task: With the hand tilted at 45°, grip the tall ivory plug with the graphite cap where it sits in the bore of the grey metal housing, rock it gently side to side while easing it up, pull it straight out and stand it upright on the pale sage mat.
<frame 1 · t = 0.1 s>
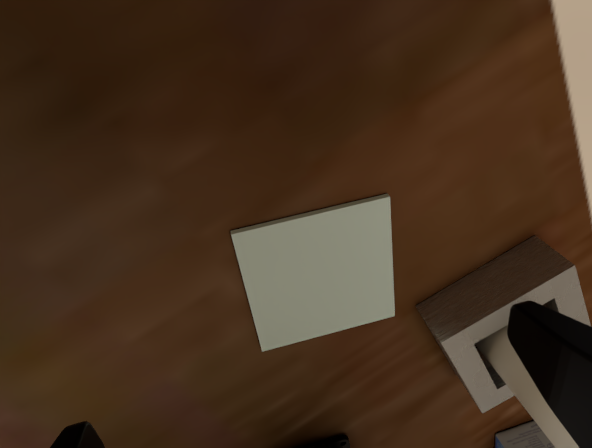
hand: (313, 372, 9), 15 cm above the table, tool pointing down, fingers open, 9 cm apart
mat: (319, 275, 27), on the table
medicine box: (512, 447, 42), on the table
plug: (556, 382, 26), in the housing
housing: (492, 311, 32), on the table
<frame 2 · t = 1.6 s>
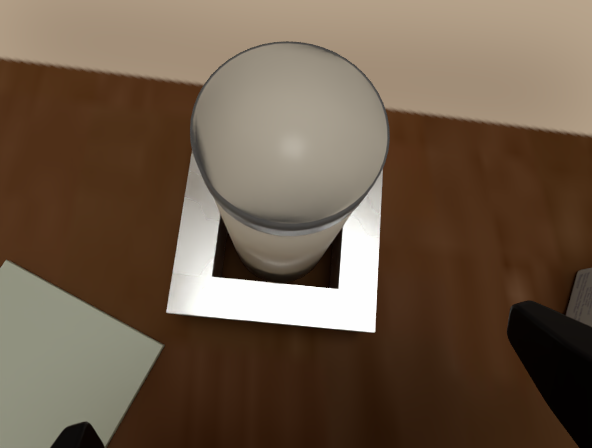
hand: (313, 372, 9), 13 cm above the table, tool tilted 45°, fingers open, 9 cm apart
mat: (33, 387, 21), on the table
plug: (283, 203, 17), in the housing
housing: (280, 237, 23), on the table
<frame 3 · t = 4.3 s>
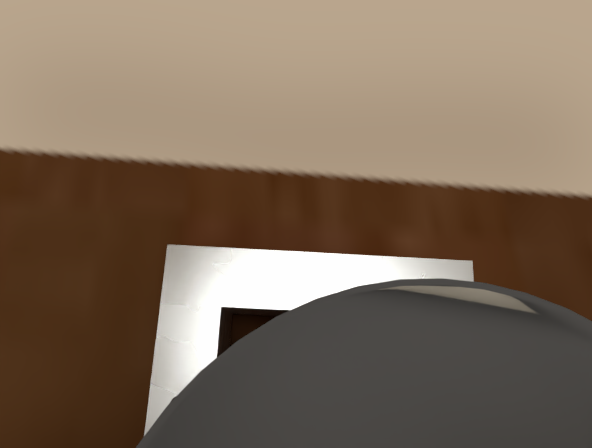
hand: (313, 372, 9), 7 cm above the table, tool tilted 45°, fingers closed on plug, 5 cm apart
plug: (330, 442, 9), in the housing, touching gripper
housing: (307, 400, 15), on the table
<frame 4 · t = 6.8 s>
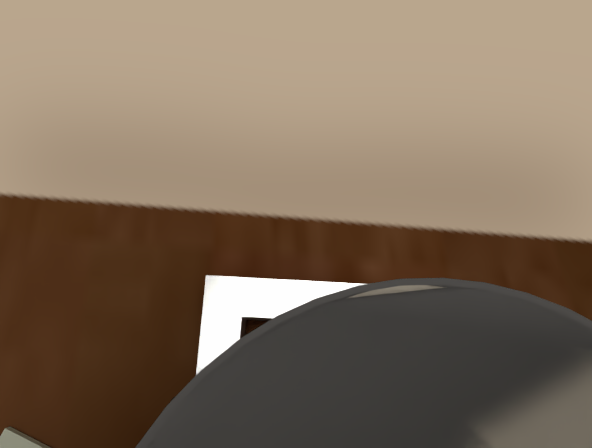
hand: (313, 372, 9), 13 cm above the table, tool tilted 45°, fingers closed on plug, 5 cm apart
plug: (330, 442, 9), point 13 cm above the table, touching gripper
housing: (298, 380, 22), on the table
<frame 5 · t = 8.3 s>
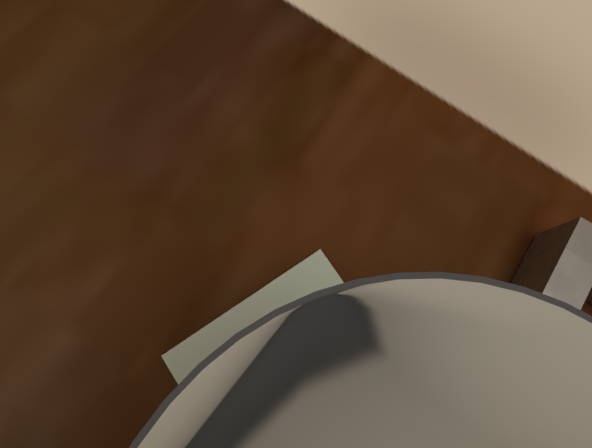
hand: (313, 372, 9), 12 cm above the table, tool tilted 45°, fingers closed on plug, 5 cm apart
mat: (296, 381, 21), on the table
plug: (329, 440, 9), point 12 cm above the table, touching gripper
housing: (577, 358, 22), on the table
when the fingers open (8 cm above the table, at t = 9.5 s): plug drops 1 cm, resting on mat.
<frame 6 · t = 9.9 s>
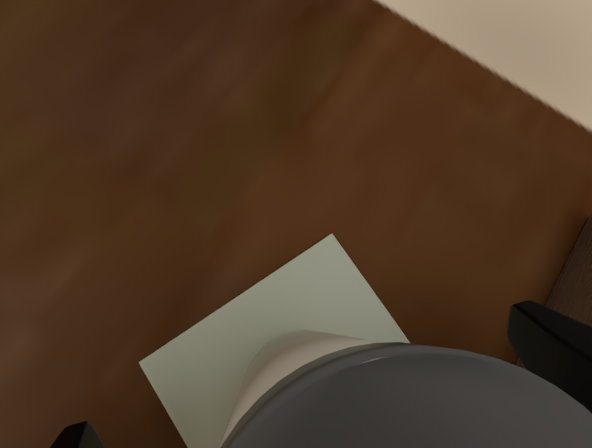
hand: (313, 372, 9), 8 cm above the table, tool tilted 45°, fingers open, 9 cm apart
mat: (303, 393, 17), on the table
plug: (331, 441, 10), on the mat
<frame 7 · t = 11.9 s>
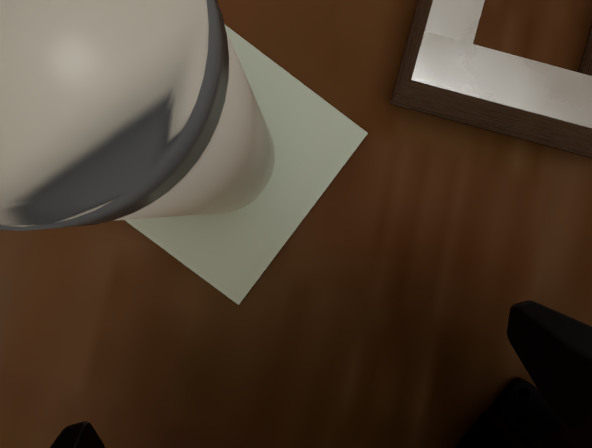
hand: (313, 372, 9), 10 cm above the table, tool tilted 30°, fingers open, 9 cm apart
mat: (218, 156, 19), on the table
plug: (170, 127, 12), on the mat
housing: (522, 26, 19), on the table
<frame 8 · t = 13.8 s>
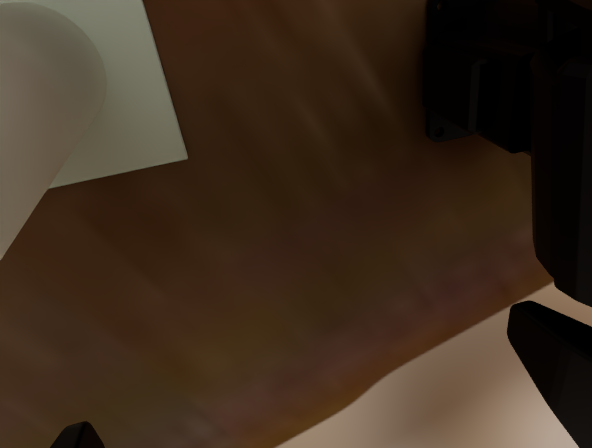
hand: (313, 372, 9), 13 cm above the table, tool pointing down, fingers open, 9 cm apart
mat: (39, 71, 17), on the table
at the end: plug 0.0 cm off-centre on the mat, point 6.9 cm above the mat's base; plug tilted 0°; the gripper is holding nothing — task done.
